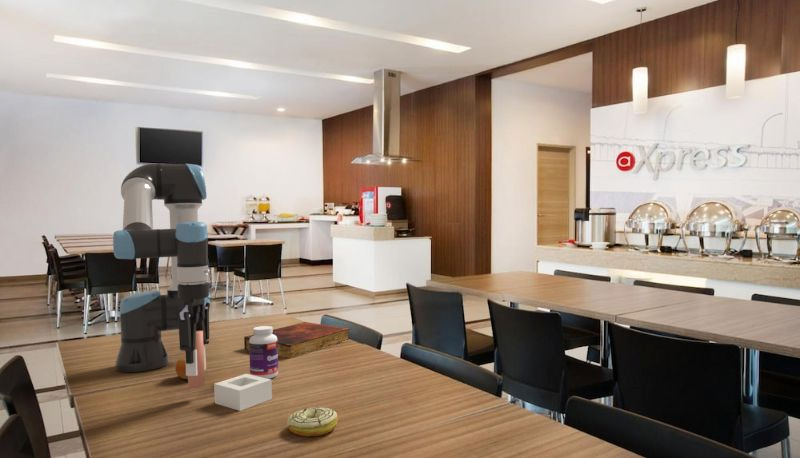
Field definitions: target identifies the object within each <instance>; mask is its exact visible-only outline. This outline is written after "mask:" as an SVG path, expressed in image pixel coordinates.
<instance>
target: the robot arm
mask: <svg viewBox="0 0 800 458" xmlns="http://www.w3.org/2000/svg"><path fill="white" fill-rule="evenodd" d="M203 171H204V170H203V169H202V167H201V166H200V165H198V164H192V163H146V164H143V165H140V166H138V167H136V168H134V169H133V170H131V171H130V172H129V173H128V174H126V176H125V177H124V179H123V181H122V183H121V186H120V195H121V197H122V199H123V215H122V216H123V218H122V229H121V230H116V231H114V232H113V233H112V246H113V247H112V248H113V256H114V257H115V258H116V259H119V260H135V259H136V260H138V259H153V258H170V261H171V263H170V265H171V284H170V285H169V286H168V287H167V289H166V293H167V294H161V291H159V290H148V291H143V292H138V293H134V294H130V295H127V296H125V297H123V298H122V299H121V300H120V303H119V304H120V305H119V313H118V314H119V315H120V342H121V344H120V348H119V350H118V354H117V357H116V360H115V370H116V371H117V372H120V373H121V372H122V373H139V372H146V371H153V370H156V369H159V368H160V369H161V368H162V367H165V366H166V365H168V364H169V355H168V352H167V350H166V348H165V345H164V343H163V340H162V332H167V331H177V330H178V337H179V338H178V340H179V349H180V351H182V352H185V353H184V355H185V360H186V376H197V375H198V372H197V350H195V338H196V330H202V331H203V346H204V370H205V369H206V361H207V359H206V345H209V344H210V340H209V339H210V306H211V292H210V283H209V282H208V281H209V274H210V272H211V271H210V269H209V251H208V250H209V249H208V248H209V247H208V245H209V244H208V239H209V234H208V226H207V223H205V222H204V221H199V219H198V218H199V217H198V216H199V215H198V210H199V209H200V207H201V206H202V205H203V201H204V200H206V199H207V185H206V180H205V176H204V172H203ZM153 200H158V201H159V200H163V206H165V208H166V209H167V210H169V228H158V229H156V228H155V229H154V220H153V219H154V217H153V215H154V214H153V213H154V212H153ZM206 370H207V369H206Z"/></svg>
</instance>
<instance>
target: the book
mask: <svg viewBox="0 0 800 458" xmlns="http://www.w3.org/2000/svg"><path fill="white" fill-rule="evenodd" d="M350 330H351V328H350V327H344V326H342V327H341V326H334V325H327V324H323V323H314V322H306V321H303V322H298V323H296V324H291V325H288V326H284V327H283V326H282V327H280V328H275V329H274V328H273V332H272V334H274V335H275V336H276V337H277V344H278V357H283V358H287V359H293V358H296V357H299V356H302V355H307V354H308V353H309V352H310V353H313V352H315V350H316V351H319V350H318V349H320V350H322V349H321V348H323V347H326V348H328V347H327V346H329V347H331V346H330V345H333V344H336V343H339V342H342V341H345V340H349V341H350V339H349V338H350V336H349V334H350V333H349V331H350ZM252 336H254V334H251V335H246V336H243V339H244V340H243V341H244V344H243V345H244V346H243V347H244V350H247V351H249V340H250V338H251V337H252ZM342 343H343V342H342ZM339 344H340V343H339ZM336 345H337V344H336ZM333 346H334V345H333ZM323 349H324V348H323ZM312 351H313V352H312ZM306 353H307V354H306Z"/></svg>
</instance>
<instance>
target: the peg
mask: <svg viewBox="0 0 800 458" xmlns="http://www.w3.org/2000/svg"><path fill="white" fill-rule="evenodd" d="M195 350H197V372H198V375H197V376H188V379H187V383H188V384H187V387H188V388H189V389H198V388H202V387H204V386H206V384H205V383H206V382H205V379H206V378H205V376H206V375H205V373H204V346H203V331H202V330H196V338H195Z"/></svg>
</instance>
